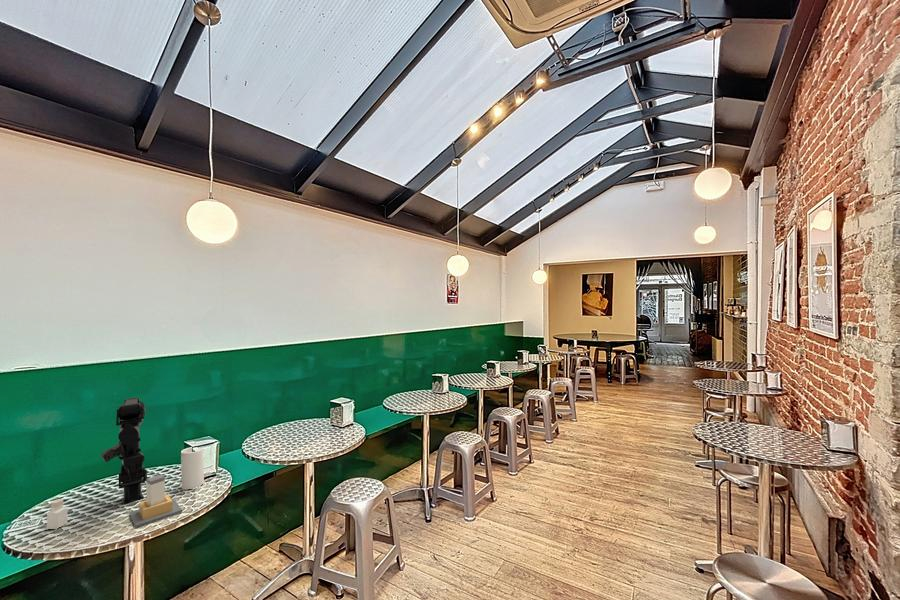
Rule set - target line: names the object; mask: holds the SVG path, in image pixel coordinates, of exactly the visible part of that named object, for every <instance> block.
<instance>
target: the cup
mask: <svg viewBox="0 0 900 600" xmlns="http://www.w3.org/2000/svg"><path fill="white" fill-rule="evenodd" d="M192 447H193V446H191V447H190V446H189V447H187V448H184V449H182V450H181V452H180V457H181V458H180V463H181V464H180V467H181V469H180V470H181V471H180V472H181V473H180V477H181V490H182V489H185V490H184V491H187V490H186V489H192V490H194V489H193V488H196V487H199V486H201V485H202V484H203V485H204V484H205V465H204V463H205V461H204V446H202V449H200V450H198V451H195V452H192ZM203 485H202V486H203ZM202 486H201V487H202ZM199 488H200V487H199ZM196 489H197V488H196Z"/></svg>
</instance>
